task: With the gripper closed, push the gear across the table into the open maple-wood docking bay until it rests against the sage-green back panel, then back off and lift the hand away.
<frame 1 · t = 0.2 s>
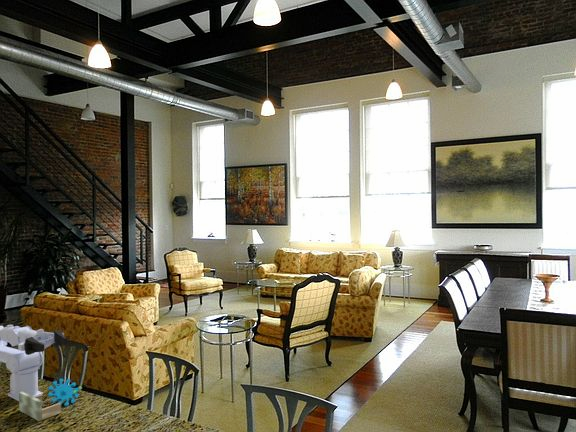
hand: (54, 344, 151), 21 cm above the table, tool horizontal, fingers open, 7 cm apart
dock: (40, 411, 149), on the table
gear: (65, 403, 156), on the table
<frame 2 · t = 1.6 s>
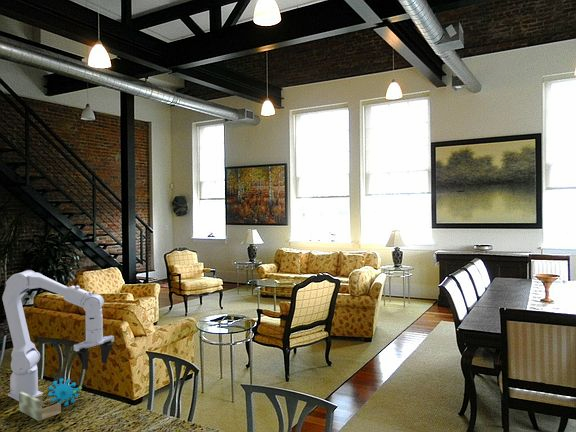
hand: (94, 365, 165), 9 cm above the table, tool pointing down, fingers open, 7 cm apart
nothing on the table moved.
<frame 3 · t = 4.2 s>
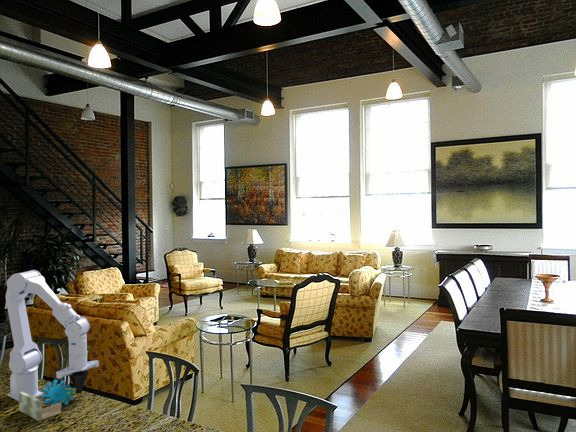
hand: (78, 392, 160), 2 cm above the table, tool pointing down, fingers closed
gear: (59, 404, 155), on the table, touching gripper
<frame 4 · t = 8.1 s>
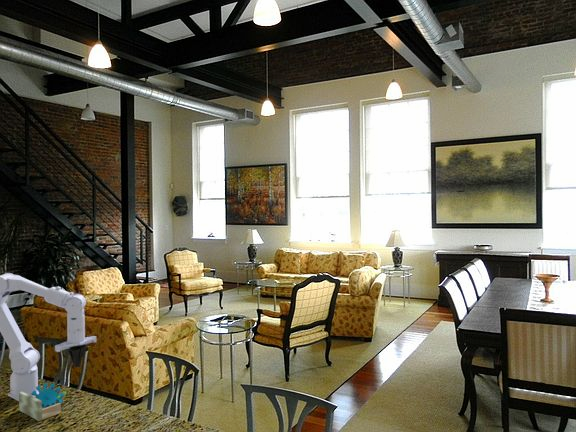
hand: (76, 366, 165), 9 cm above the table, tool pointing down, fingers closed
gear: (49, 408, 152), on the table
at the end: gear 0.5 cm from the target spot, on the table; gear tilted 0° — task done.
